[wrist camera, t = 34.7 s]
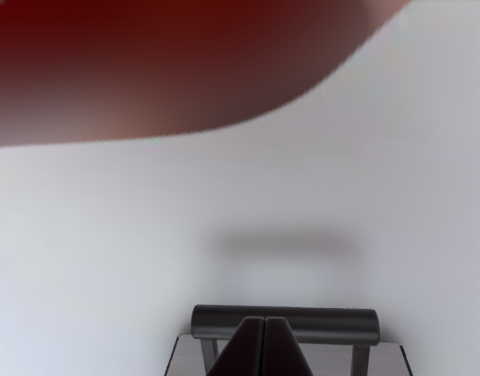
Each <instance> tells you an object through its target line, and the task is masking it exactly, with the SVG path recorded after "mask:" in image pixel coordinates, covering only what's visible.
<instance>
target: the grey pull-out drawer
mask: <svg viewBox="0 0 480 376" xmlns="http://www.w3.org/2000/svg"><path fill="white" fill-rule="evenodd" d="M248 316H249V317H263V318H264V319H266V318H267V317H284V318H285V319H286V320H287V322H288V324H289V326H290V328H291V330H292V332H293V334H294V336H295V338H296V340H297V342H298V344H299V346H300V348H301V350H302V352H303V354H304V356H305V358H306V360H307V362H308V364H309V366H310V369H311V371H312V373H313V375H314V376H410V375H409V372H408V369H407V366H406V363H405V361H404V358H403V355H402V352H401V349H400V346H399V343H394V342H379V340H380V328H379V321H378V317H377V314H376V312H375V310H373V309H344V308H306V307H269V306H232V305H196V306H195V307H194V309H193V313H192V318H191V333H192V335H184V334H181V335H180V336H179V339H178V342H177V345H176V348H175V351H174V354H173V357H172V360H171V363H170V366H169V369H168V372H167V375H166V376H205V375H206V373H207V372H208V370H209V369H210V367H211V366H212V365H213V363H214V362H215V360H216V359H217V357H218V356H219V354H220V353H221V351H222V350H223V348H224V347H225V345H226V344H227V342H228V341H229V339H230V338H231V336H232V335H233V334H234V332H235V331H236V329H237V328H238V326H239V325H240V323H241V322H242V320H243V319H244V318H245V317H248Z"/></svg>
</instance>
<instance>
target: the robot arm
mask: <svg viewBox="0 0 480 376" xmlns="http://www.w3.org/2000/svg"><path fill="white" fill-rule="evenodd" d="M205 376H314V375H313V373H312V371H311V369H310V366H309V364H308V362H307V360H306V358H305V356H304V354H303V352H302V350H301V348H300V346H299V344H298V342H297V340H296V338H295V336H294V334H293V332H292V330H291V328H290V326H289V324H288V322H287V320H286V319H285V318H284V317H267V318H266V319H264V318H263V317H249V316H248V317H245V318H244V319H243V320H242V322H241V323H240V325H239V326H238V328H237V329H236V331H235V332H234V334H233V335H232V336H231V338H230V339H229V341H228V342H227V344H226V345H225V347H224V348H223V350H222V351H221V353H220V354H219V356H218V357H217V359H216V360H215V362H214V363H213V365H212V366H211V367H210V369H209V370H208V372H207V373H206V375H205Z"/></svg>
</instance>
